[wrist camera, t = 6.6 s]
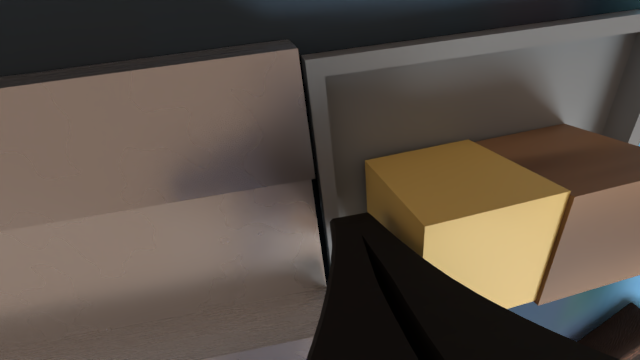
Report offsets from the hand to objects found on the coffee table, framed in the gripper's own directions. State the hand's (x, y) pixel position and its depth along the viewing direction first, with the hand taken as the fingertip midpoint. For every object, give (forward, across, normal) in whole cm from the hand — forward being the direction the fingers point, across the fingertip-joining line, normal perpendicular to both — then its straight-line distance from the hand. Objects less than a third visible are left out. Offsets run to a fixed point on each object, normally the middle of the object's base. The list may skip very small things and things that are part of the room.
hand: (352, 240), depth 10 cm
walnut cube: (+2, -7, 0) cm, 7 cm away
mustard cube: (+2, -3, 0) cm, 3 cm away
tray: (+3, -5, 0) cm, 6 cm away
